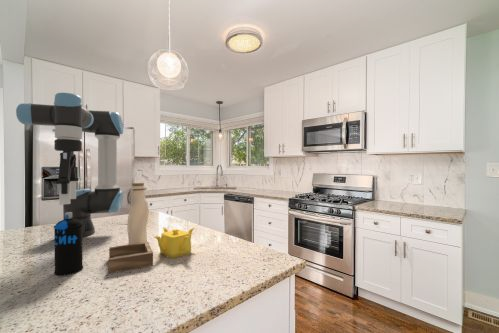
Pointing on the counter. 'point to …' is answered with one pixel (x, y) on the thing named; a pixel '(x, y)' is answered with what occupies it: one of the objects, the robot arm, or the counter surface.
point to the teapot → (175, 242)
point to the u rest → (130, 257)
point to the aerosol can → (68, 246)
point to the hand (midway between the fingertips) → (68, 201)
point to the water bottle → (137, 214)
